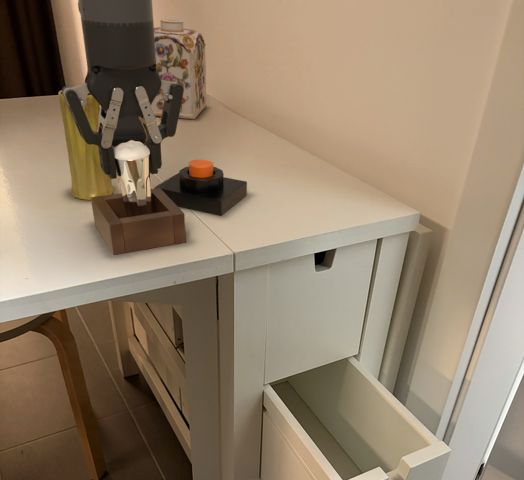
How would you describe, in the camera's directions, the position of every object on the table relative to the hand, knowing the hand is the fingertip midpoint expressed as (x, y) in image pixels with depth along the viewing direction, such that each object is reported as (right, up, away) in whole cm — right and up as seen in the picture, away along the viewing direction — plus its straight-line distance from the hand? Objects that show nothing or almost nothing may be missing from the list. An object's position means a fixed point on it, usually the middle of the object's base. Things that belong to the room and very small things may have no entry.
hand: (132, 173), depth 69 cm
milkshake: (0, -5, +3) cm, 6 cm away
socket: (0, -6, +5) cm, 8 cm away
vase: (-10, +2, +16) cm, 19 cm away
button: (+7, +4, +14) cm, 16 cm away
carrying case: (-12, +19, +39) cm, 45 cm away
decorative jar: (-3, +32, +56) cm, 65 cm away
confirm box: (+7, +1, +16) cm, 17 cm away
